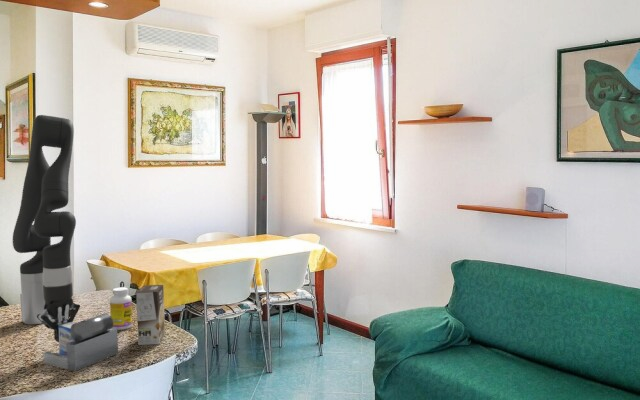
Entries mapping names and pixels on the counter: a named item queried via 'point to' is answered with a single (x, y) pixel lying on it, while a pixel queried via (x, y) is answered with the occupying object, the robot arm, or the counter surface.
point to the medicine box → (64, 337)
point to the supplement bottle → (121, 309)
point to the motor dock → (87, 344)
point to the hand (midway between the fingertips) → (60, 341)
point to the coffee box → (150, 314)
